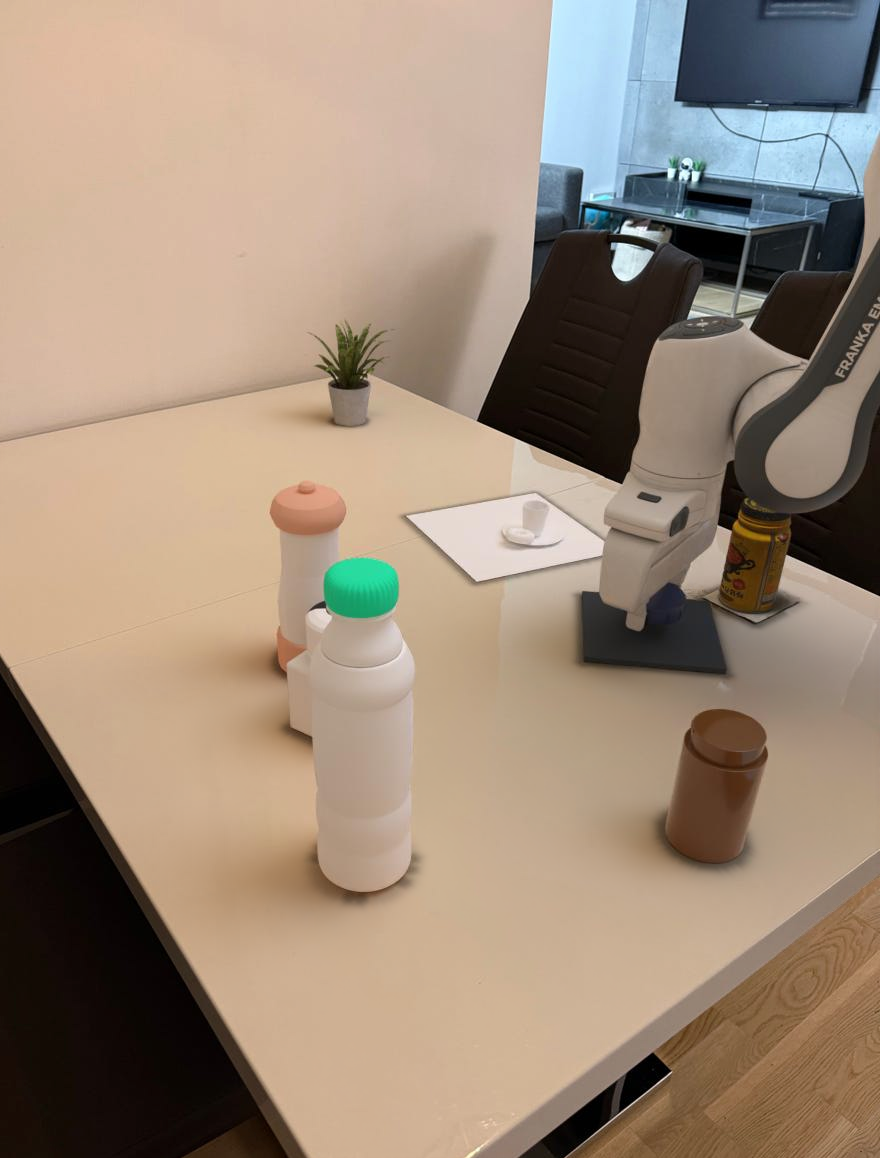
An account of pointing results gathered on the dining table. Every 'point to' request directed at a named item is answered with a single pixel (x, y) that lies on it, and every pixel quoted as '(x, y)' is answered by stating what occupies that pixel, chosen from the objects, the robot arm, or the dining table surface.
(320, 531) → the pepper shaker
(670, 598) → the lid
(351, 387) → the house plant
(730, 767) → the jar
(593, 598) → the mat
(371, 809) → the water bottle
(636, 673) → the dining table surface
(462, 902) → the dining table surface
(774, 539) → the condiment
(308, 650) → the medicine bottle
